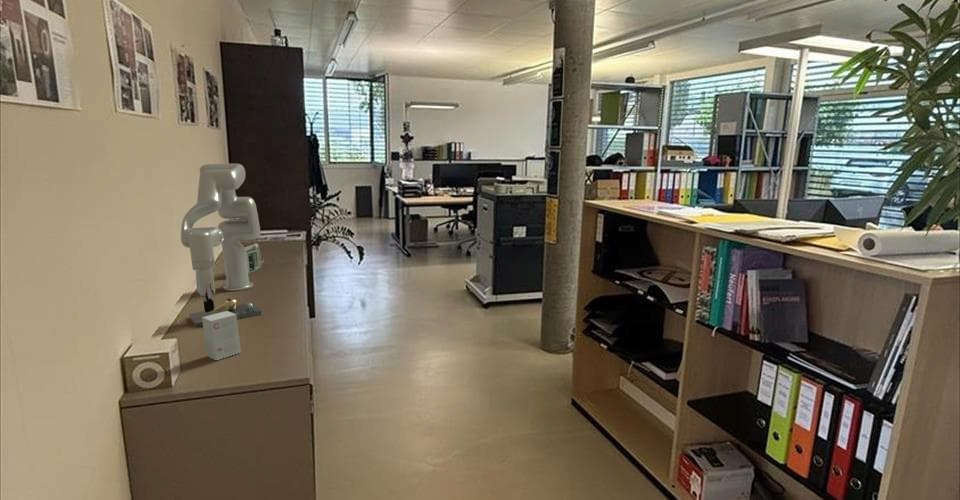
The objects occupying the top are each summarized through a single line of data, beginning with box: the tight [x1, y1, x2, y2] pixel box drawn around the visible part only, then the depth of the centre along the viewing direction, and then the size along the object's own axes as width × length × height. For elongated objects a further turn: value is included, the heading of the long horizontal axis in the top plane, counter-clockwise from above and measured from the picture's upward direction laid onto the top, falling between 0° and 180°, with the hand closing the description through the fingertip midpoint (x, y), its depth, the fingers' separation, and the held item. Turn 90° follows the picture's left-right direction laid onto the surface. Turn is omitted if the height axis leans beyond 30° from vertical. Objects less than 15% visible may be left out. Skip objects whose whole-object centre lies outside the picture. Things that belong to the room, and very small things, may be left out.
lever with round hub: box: [210, 297, 238, 315], centre depth 201 cm, size 4×15×4 cm, turn 178°
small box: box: [202, 311, 242, 361], centre depth 165 cm, size 8×6×13 cm
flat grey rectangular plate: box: [188, 301, 262, 328], centre depth 204 cm, size 14×23×4 cm, turn 126°
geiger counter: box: [244, 243, 265, 274], centre depth 275 cm, size 14×6×25 cm
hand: (209, 311), depth 200 cm, fingers closed
